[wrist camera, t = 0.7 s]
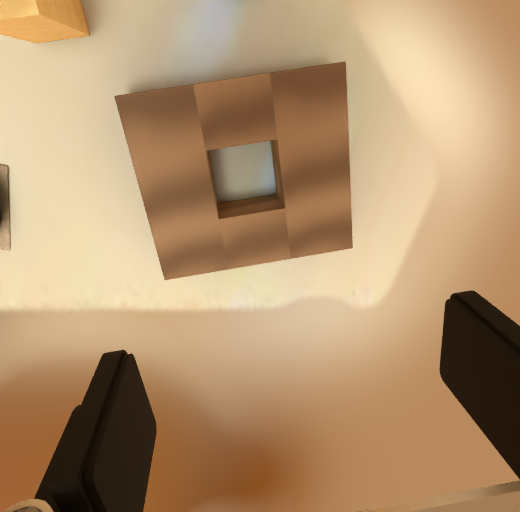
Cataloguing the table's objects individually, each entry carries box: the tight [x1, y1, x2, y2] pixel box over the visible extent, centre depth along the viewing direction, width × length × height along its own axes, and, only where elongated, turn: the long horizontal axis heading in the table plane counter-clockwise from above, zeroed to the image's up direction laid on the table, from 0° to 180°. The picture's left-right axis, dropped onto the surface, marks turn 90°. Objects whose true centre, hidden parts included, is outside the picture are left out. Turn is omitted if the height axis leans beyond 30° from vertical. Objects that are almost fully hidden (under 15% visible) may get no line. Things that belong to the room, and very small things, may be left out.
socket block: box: [115, 62, 353, 280], centre depth 35 cm, size 16×18×5 cm
